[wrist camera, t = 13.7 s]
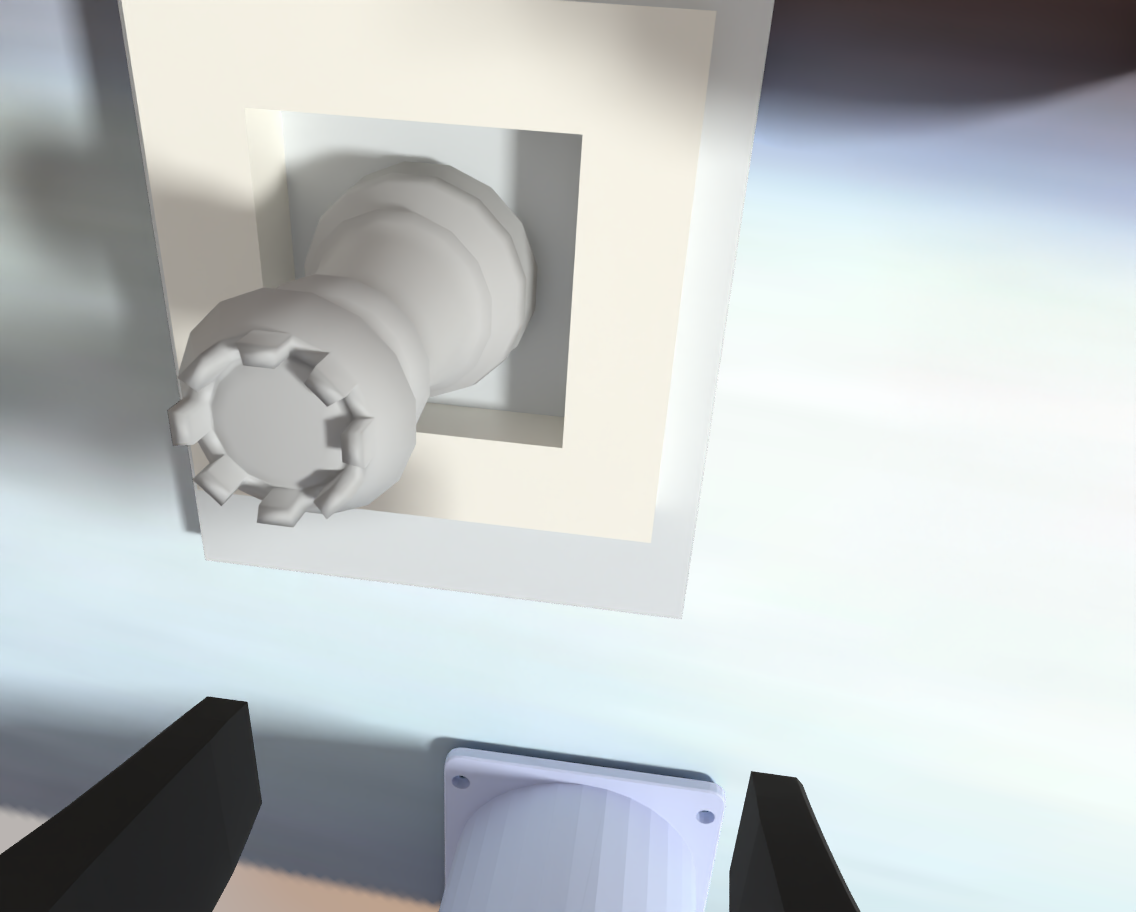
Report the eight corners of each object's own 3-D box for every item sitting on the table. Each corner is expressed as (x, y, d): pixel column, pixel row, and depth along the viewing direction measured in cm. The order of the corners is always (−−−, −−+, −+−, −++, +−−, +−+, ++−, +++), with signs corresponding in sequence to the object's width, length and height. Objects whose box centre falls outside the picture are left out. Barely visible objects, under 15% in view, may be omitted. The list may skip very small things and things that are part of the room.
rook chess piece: (407, 405, 19) (244, 632, 12) (285, 226, 18) (17, 366, 11) (582, 315, 18) (512, 512, 11) (465, 111, 16) (295, 184, 9)
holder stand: (681, 594, 22) (681, 660, 20) (223, 539, 23) (174, 595, 21) (797, -187, 14) (816, -223, 12) (115, -219, 15) (19, -259, 13)
